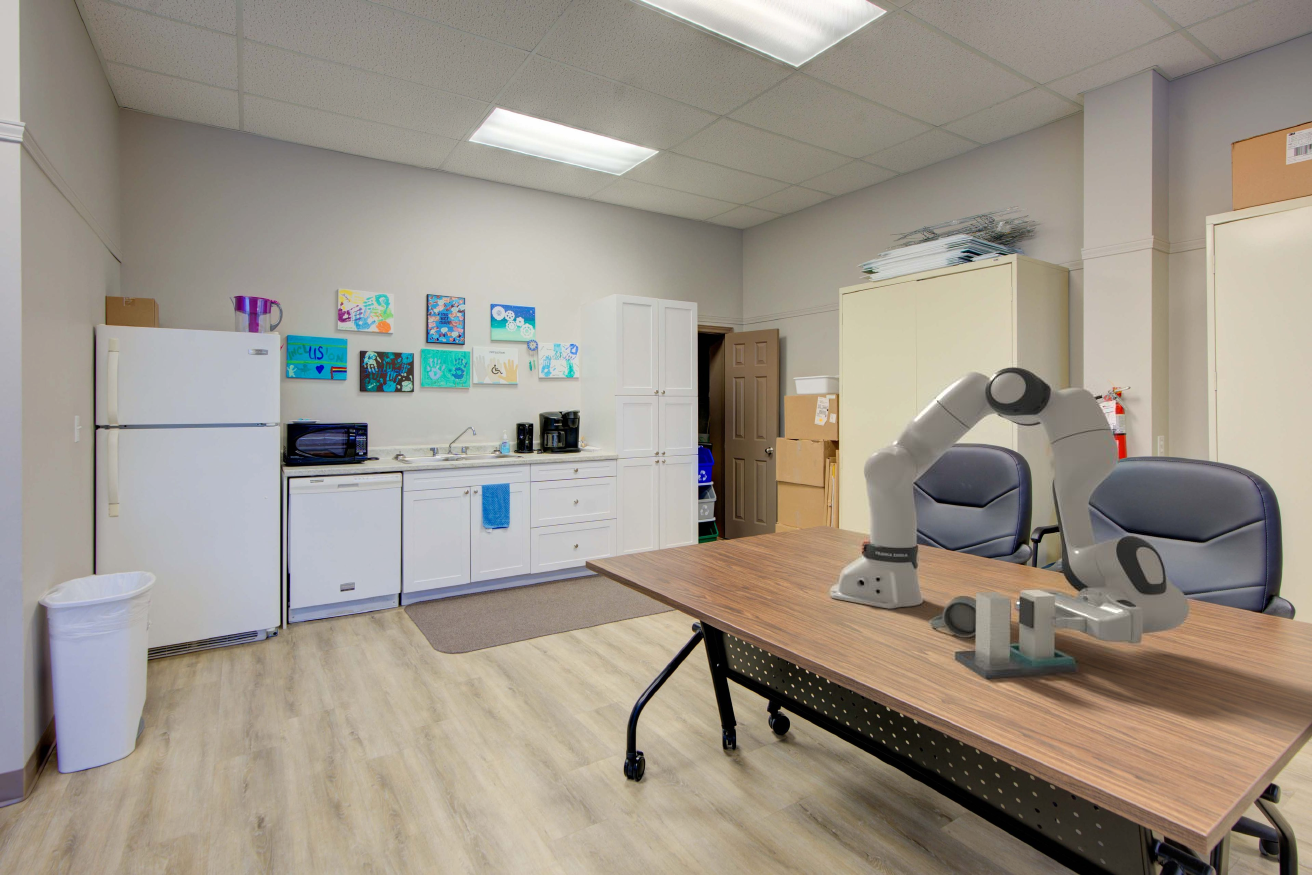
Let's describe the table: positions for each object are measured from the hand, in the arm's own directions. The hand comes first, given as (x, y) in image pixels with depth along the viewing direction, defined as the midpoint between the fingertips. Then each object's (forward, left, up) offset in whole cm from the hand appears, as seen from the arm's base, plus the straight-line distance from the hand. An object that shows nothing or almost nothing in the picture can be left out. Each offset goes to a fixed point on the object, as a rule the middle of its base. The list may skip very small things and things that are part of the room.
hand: (1034, 614), depth 116 cm
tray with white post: (-3, -2, -9) cm, 10 cm away
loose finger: (0, 0, -8) cm, 8 cm away
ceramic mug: (-13, +14, -10) cm, 22 cm away
